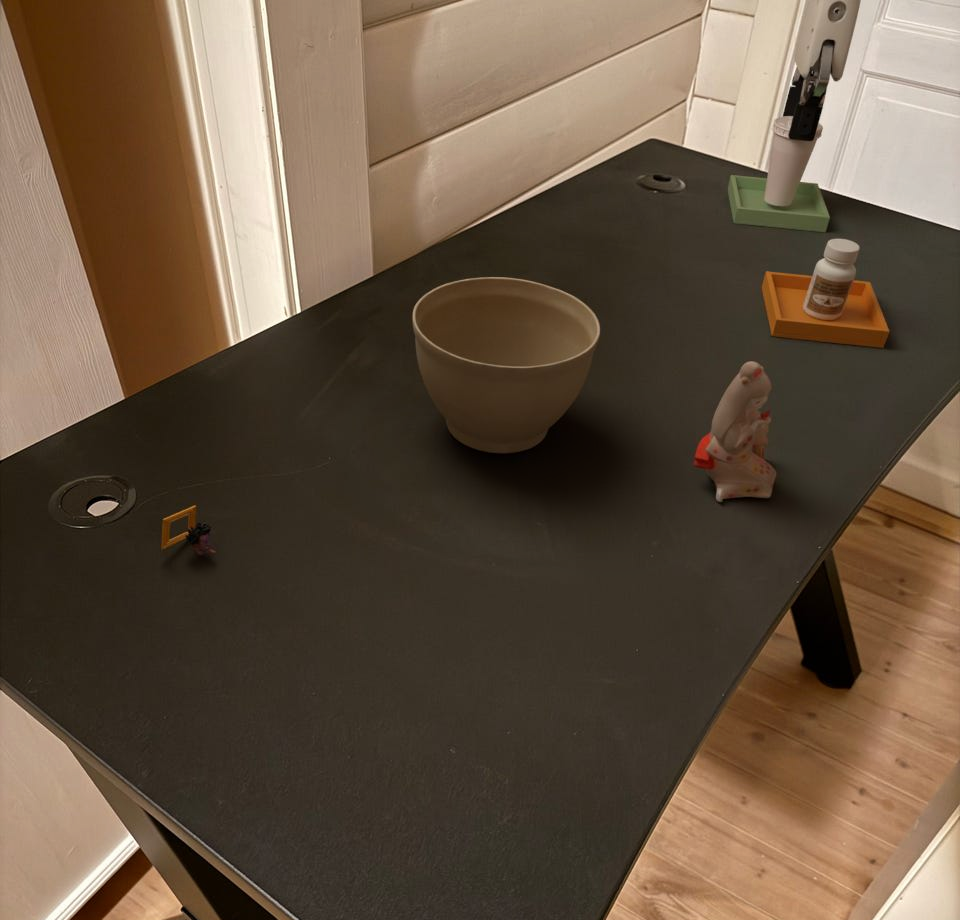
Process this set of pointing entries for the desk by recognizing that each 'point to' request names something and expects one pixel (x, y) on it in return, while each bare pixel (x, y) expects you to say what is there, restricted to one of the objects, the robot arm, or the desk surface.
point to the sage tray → (756, 211)
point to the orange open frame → (188, 532)
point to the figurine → (739, 438)
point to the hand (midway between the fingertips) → (797, 129)
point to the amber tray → (791, 321)
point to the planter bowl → (503, 358)
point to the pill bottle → (832, 280)
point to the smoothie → (787, 162)
